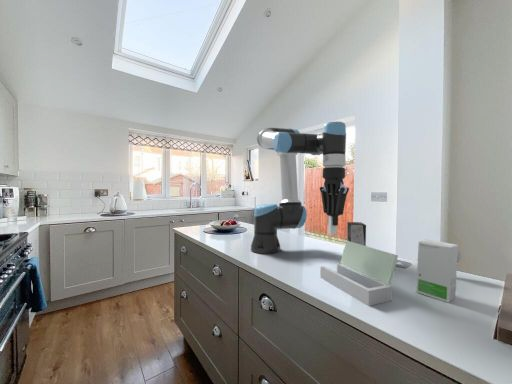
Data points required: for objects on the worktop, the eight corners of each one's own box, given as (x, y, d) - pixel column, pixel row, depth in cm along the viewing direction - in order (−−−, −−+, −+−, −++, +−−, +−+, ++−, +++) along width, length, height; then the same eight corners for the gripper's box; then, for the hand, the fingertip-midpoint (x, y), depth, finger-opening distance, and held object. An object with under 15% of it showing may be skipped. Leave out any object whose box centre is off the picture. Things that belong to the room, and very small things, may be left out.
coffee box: (366, 262, 99) (366, 224, 99) (350, 261, 101) (350, 224, 100) (361, 256, 108) (361, 221, 108) (346, 255, 109) (346, 221, 109)
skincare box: (415, 292, 71) (416, 241, 70) (423, 287, 75) (424, 238, 74) (450, 303, 64) (451, 246, 64) (457, 297, 68) (458, 243, 68)
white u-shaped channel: (320, 277, 82) (320, 266, 82) (339, 274, 85) (339, 263, 85) (368, 305, 62) (368, 290, 62) (391, 300, 65) (391, 286, 65)
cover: (346, 240, 86) (348, 241, 86) (340, 263, 85) (341, 263, 86) (396, 254, 67) (398, 255, 68) (388, 284, 67) (390, 284, 67)
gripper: (313, 168, 87) (312, 231, 88) (337, 165, 75) (336, 239, 75) (330, 168, 89) (329, 230, 90) (356, 166, 77) (354, 237, 78)
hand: (332, 234), depth 83 cm, fingers closed
